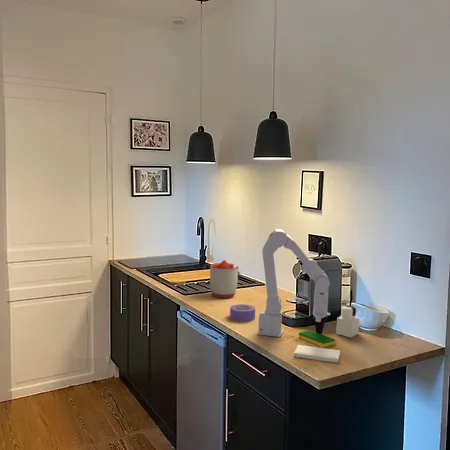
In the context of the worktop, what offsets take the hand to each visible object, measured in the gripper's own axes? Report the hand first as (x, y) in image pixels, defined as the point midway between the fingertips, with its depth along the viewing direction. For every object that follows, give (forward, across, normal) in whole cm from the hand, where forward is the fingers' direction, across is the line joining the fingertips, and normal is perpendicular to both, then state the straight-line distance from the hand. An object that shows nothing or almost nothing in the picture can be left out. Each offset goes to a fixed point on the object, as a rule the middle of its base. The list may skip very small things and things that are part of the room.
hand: (319, 333), depth 201 cm
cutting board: (+1, -22, -2) cm, 22 cm away
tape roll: (+1, +13, +37) cm, 39 cm away
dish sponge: (+2, -6, 0) cm, 6 cm away
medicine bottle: (+1, +8, -11) cm, 14 cm away
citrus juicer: (+1, +48, +57) cm, 74 cm away
